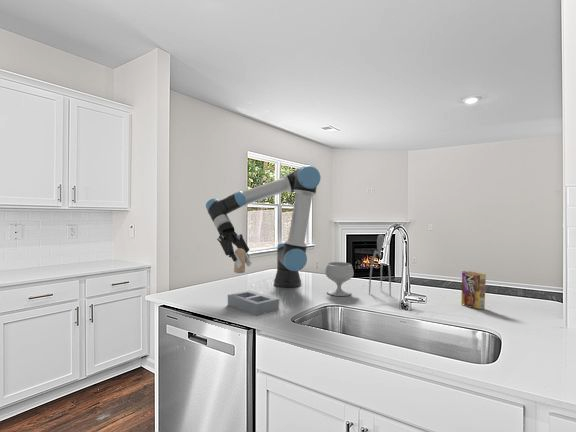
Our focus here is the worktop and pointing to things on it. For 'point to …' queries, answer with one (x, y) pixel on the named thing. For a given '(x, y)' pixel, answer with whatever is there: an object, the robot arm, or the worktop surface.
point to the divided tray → (253, 302)
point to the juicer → (379, 246)
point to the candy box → (473, 289)
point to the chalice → (339, 276)
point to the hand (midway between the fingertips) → (245, 265)
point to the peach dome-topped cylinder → (242, 256)
